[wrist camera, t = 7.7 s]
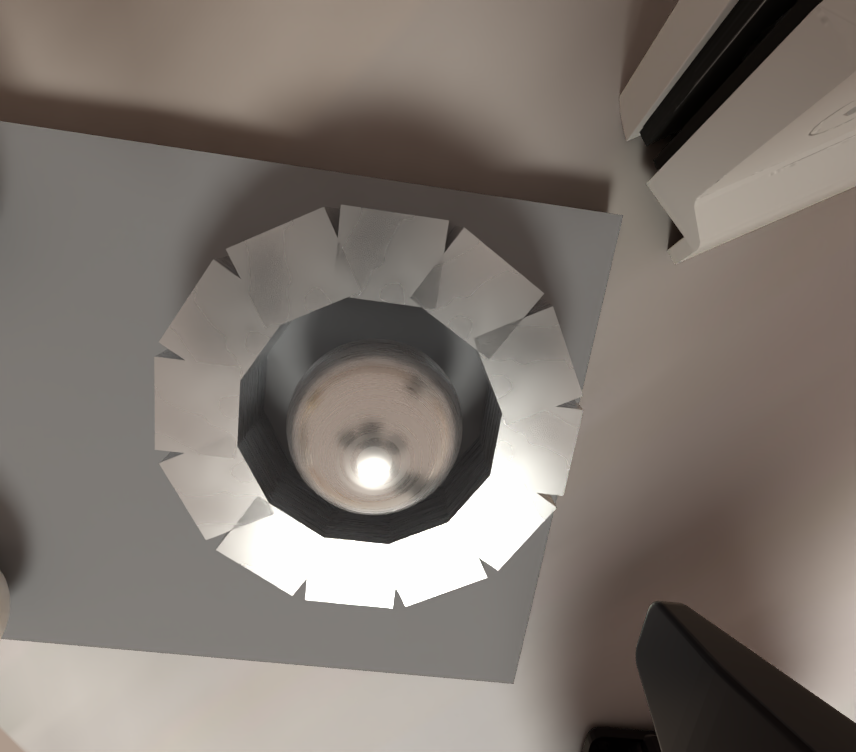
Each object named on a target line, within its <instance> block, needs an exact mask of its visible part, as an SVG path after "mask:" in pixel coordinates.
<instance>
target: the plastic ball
mask: <svg viewBox="0 0 856 752" xmlns="http://www.w3.org/2000/svg"><path fill="white" fill-rule="evenodd" d="M9 613H10V593H9V588H8V585H7V582H6V579H5V577H4V575H3V574H2V572H1V571H0V640H1V638H2V635H3V633H4V631H5V628H6V625H7V622H8V618H9Z"/></svg>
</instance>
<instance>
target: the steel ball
mask: <svg viewBox="0 0 856 752" xmlns="http://www.w3.org/2000/svg"><path fill="white" fill-rule="evenodd" d="M462 431H463V419H462V412H461V406H460V402H459V399H458V396H457V393H456V391H455V389H454V387H453V385H452V383H451V381H450V380H449V378H448V377H447V375H446V374H445V372H444V371H443V370H442V369H441V368H440V366H439V365H438V364H437V363H436V362H435V361H433V360H432V359H431V358H430V357H429V356H427V355H426V354H424V353H423V352H421V351H420V350H418V349H416V348H414V347H412V346H410V345H407V344H404V343H401V342H398V341H394V340H389V339H377V338H372V339H362V340H357V341H352V342H349V343H346V344H343V345H340V346H338V347H336V348H334V349H332V350H330V351H329V352H327V353H326V354H324V355H323V356H321V357H320V358H319V359H318V360H317V361H316V362H314V363H313V364H312V365H311V367H310V368H309V369H308V370H307V371H306V372H305V374H304V375H303V376H302V378H301V379H300V381H299V382H298V384H297V386H296V388H295V390H294V392H293V394H292V397H291V401H290V404H289V408H288V412H287V419H286V435H287V442H288V448H289V451H290V455H291V458H292V460H293V462H294V464H295V467H296V469H297V471H298V472H299V474H300V475H301V477H302V479H303V480H304V481H305V482H306V484H307V485H308V486H309V487H310V488H311V489H312V490H313V491H314V492H315V493H316V494H317V495H319V496H320V497H321V498H323V499H324V500H326V501H327V502H329V503H330V504H332V505H334V506H336V507H338V508H341V509H343V510H346V511H349V512H353V513H358V514H365V515H382V514H389V513H394V512H398V511H401V510H404V509H407V508H409V507H411V506H413V505H415V504H417V503H419V502H420V501H422V500H424V499H425V498H426V497H428V496H429V495H430V494H431V493H432V492H434V491H435V490H436V489H437V488H438V487H439V486H440V485H441V484H442V482H443V481H444V480H445V478H446V477H447V476H448V474H449V472H450V470H451V469H452V467H453V465H454V463H455V461H456V458H457V456H458V453H459V449H460V445H461V440H462Z"/></svg>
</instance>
